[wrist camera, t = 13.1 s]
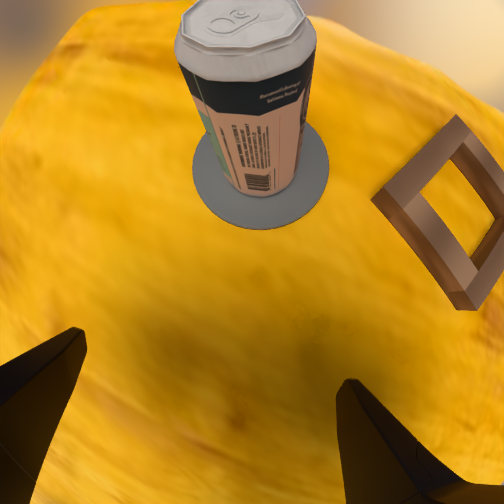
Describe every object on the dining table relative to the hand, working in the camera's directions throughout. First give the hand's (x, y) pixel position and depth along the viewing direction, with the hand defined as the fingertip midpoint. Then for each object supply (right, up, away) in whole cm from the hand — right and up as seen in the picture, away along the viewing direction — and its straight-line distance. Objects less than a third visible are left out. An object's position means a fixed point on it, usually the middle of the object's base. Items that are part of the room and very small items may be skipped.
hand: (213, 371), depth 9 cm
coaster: (+2, +10, +10) cm, 14 cm away
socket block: (+16, +7, +9) cm, 20 cm away
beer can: (+2, +9, +10) cm, 14 cm away
